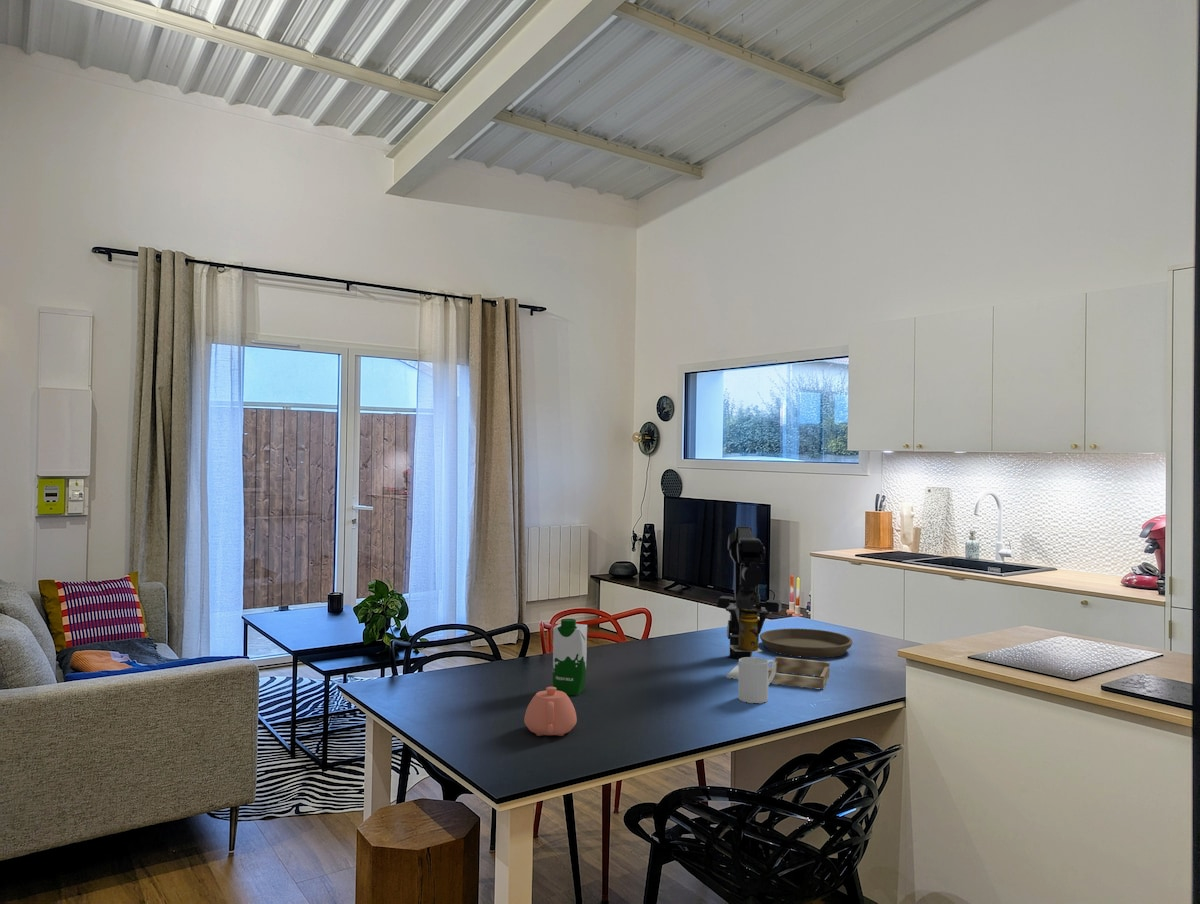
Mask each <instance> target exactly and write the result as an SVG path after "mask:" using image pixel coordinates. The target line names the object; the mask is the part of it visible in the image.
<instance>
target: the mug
mask: <svg viewBox="0 0 1200 904" xmlns="http://www.w3.org/2000/svg"><path fill="white" fill-rule="evenodd" d="M774 661H775V660H773V659H765V658H762V657H753V656H751V657H744V658H740V659H738V666H739V677H738V679H737V680H738V681H737V683H738V684H737V687H738V688H737V689H738V690H737V693H738V694H737V697H738V700H739V701H741V702H743V703H746V702H747V704H753V703H759V704H765V703H767V702H768V700H769V685H770V683H771V682H772V680H773V678H774V676H775V673H776V663H775V662H774ZM770 663H771V665H772V672H771V675H770V677H769V679H768V669H769V664H770ZM764 702H765V703H764Z"/></svg>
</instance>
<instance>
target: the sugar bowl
mask: <svg viewBox="0 0 1200 904" xmlns="http://www.w3.org/2000/svg"><path fill="white" fill-rule="evenodd" d="M577 718H578V717H577V712H576V709H575V706H574V704H573V702H572V700H571V698H570V697H569V695H567V694H566V693H565V692H562V691H557V690H556V687H553V686H547V687H545V690H540V691H537V692H536V693H535V695H533V697H532V699H531V700H530V702H529V704H528V705H527V708H526V710H525V714H524V721H523V722H524V724H525V726H526V727H527V729H528V730H529V731H530V732H531V733H533V734H535V736H539V737H541V736H557V737H562V736H565V734H567V733H569V732H571V731H572V729H574V727H575V726H576V724H577V720H578V719H577Z"/></svg>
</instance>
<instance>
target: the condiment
mask: <svg viewBox="0 0 1200 904" xmlns="http://www.w3.org/2000/svg"><path fill="white" fill-rule="evenodd" d="M740 612H741V614H740V616H741V617H740V618H739V644H738V645H730V644H729V645H728V646H729V648H730V647H731V648H732V650H734V651H735V652H736V651H748V652H752V653H753V652H756V653H757V652H759V653H760V652H763V650H762V649H761V648H759V645H760V644H759V643H760V640H759V639H760V634H758V626H759V618H758V617H759V610H758V609H755V608H752V609H751V610H747V609H741V611H740Z"/></svg>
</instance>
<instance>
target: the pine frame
mask: <svg viewBox="0 0 1200 904" xmlns="http://www.w3.org/2000/svg"><path fill="white" fill-rule="evenodd" d="M773 661H774V662H775V663H776V673H775V676H774V678H773V680H772V682H771V683H775V684H774V685H778V684H782V685H781V686H786V685H791V686H790V687H795V686H800V687H799V688H803V687H810V688H809V689H812V688H820V689H823V688H824V689H825V687H826V685H827V683H828V681H829V679H830V664H831V663H830V661H829V662H828V661H819V660H814V659H804V658H793V657H784V656H775V657H774V660H773ZM771 672H772V664H771V665H770V666H769V667H768V679H769V677H770V675H771ZM779 672H784V673H779ZM788 673H794V674H788ZM797 674H805V675H797ZM806 675H815V676H820V677H815V676H806ZM828 678H829V679H828ZM827 680H828V681H827ZM826 682H827V683H826ZM825 684H826V685H825ZM824 686H825V687H824ZM820 689H819V690H820ZM824 689H823V690H824Z"/></svg>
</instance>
